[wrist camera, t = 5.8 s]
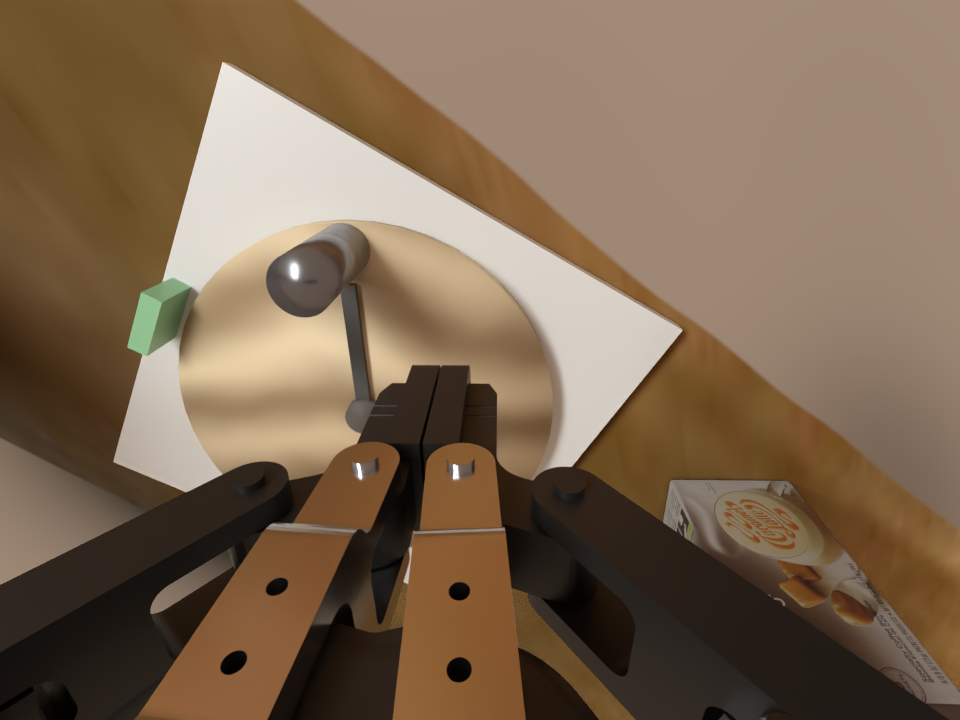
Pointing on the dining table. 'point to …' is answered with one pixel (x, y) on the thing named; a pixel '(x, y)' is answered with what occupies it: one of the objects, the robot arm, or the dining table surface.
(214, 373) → the tan round piece
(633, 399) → the dining table surface
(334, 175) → the gauge plate
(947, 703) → the coffee box
